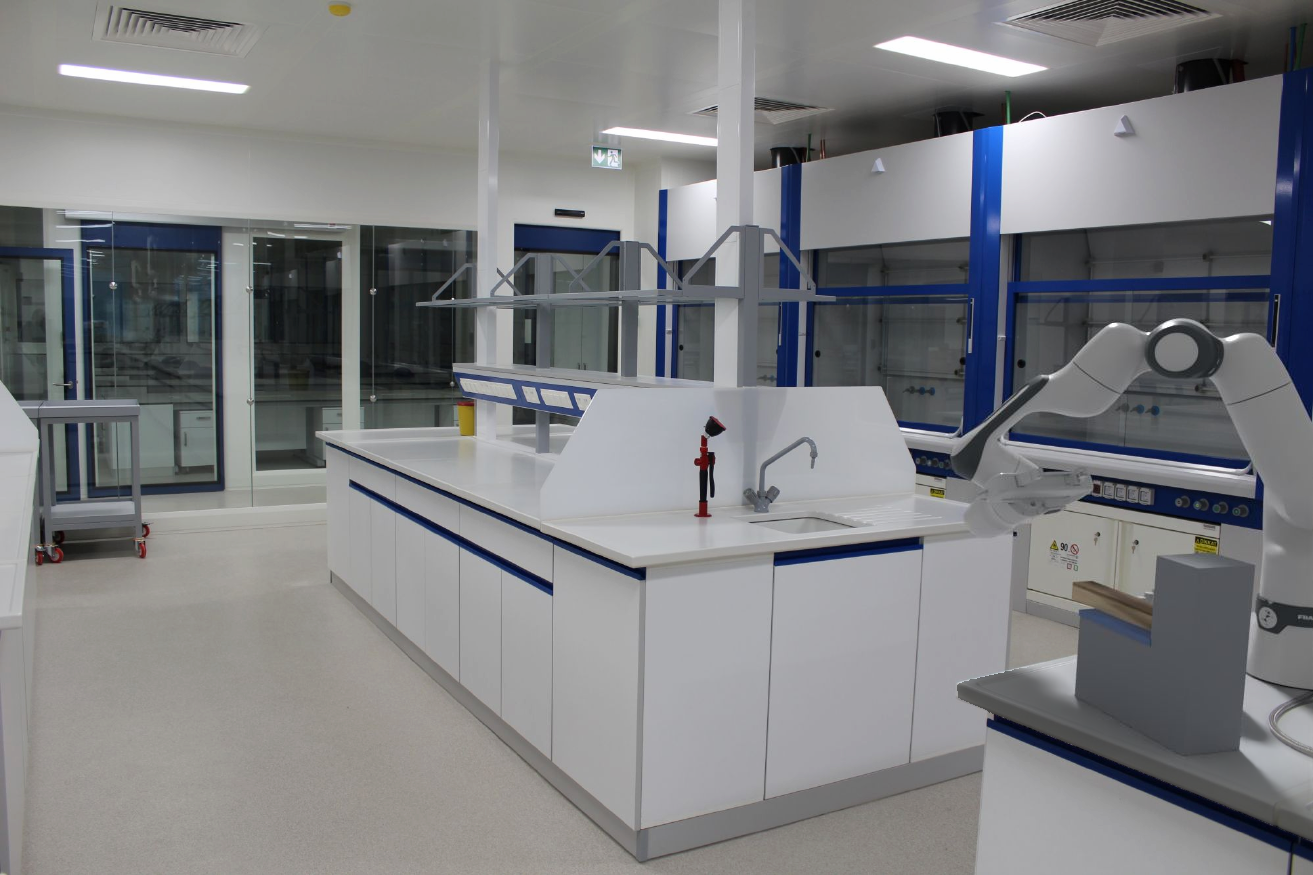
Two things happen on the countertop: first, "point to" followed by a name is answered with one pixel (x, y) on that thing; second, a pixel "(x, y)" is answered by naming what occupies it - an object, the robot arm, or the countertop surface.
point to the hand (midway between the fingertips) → (1062, 471)
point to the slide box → (1114, 603)
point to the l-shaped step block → (1175, 656)
